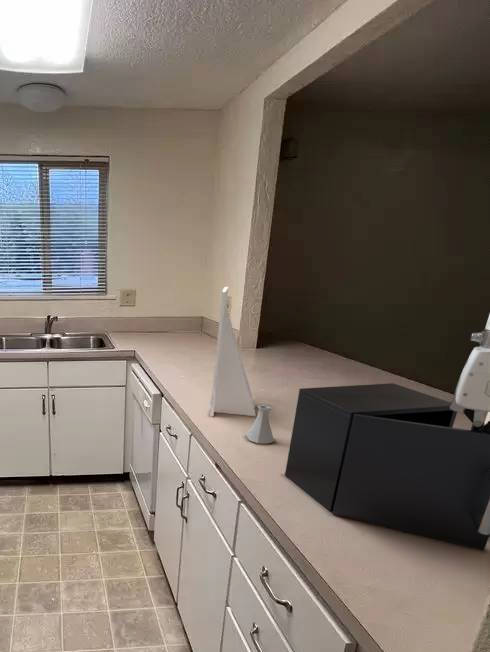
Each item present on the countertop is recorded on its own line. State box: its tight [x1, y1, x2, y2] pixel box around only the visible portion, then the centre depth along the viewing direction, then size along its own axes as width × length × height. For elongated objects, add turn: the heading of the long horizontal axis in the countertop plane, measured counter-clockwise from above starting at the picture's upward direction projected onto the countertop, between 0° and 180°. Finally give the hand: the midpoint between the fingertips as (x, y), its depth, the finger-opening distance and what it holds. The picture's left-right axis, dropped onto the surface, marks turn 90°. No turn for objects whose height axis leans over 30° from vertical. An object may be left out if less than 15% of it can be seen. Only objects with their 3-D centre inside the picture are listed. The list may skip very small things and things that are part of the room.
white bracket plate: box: [209, 286, 257, 418], centre depth 143 cm, size 20×14×40 cm
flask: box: [246, 404, 275, 445], centre depth 123 cm, size 7×7×10 cm
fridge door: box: [332, 414, 490, 551], centre depth 78 cm, size 6×24×22 cm, turn 61°
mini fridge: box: [284, 382, 458, 512], centre depth 95 cm, size 16×24×22 cm, turn 99°
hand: (478, 446), depth 76 cm, fingers closed
